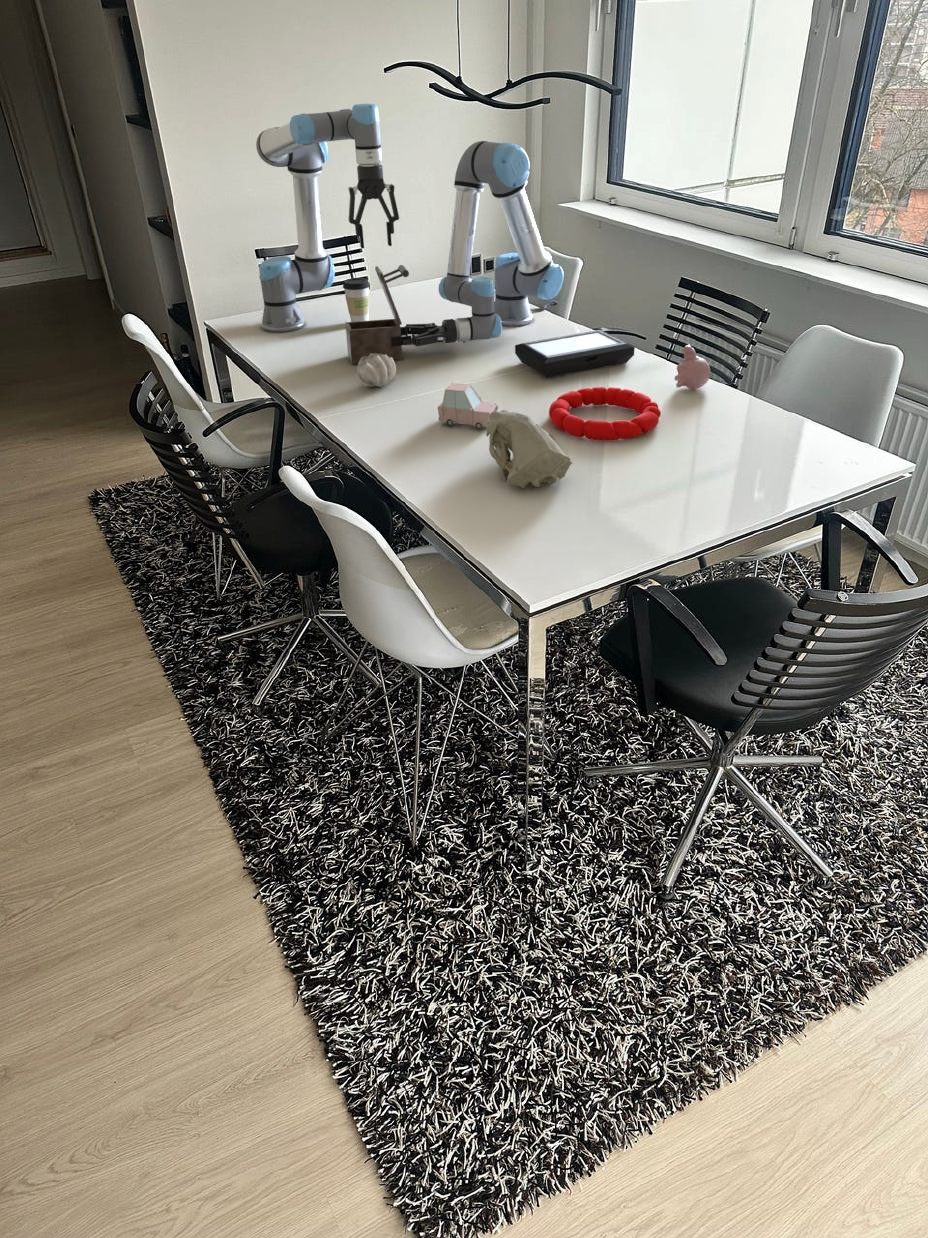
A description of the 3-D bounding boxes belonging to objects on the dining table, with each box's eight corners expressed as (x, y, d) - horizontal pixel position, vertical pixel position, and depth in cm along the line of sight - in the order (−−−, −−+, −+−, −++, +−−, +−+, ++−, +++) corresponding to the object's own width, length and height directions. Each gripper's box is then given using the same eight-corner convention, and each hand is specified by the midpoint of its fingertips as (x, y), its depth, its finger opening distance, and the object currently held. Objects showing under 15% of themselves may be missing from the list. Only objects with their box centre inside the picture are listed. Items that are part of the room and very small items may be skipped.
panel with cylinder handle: (379, 273, 276) (405, 262, 276) (374, 267, 283) (400, 255, 283) (399, 325, 286) (424, 314, 286) (393, 317, 293) (418, 306, 293)
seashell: (349, 385, 273) (346, 353, 267) (393, 376, 278) (391, 344, 273) (363, 395, 265) (359, 362, 260) (408, 385, 271) (405, 353, 265)
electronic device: (544, 360, 268) (515, 342, 283) (544, 380, 271) (514, 361, 286) (634, 344, 278) (601, 327, 293) (633, 363, 282) (600, 346, 297)
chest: (351, 363, 289) (349, 330, 283) (347, 354, 296) (345, 322, 290) (402, 359, 292) (400, 326, 286) (396, 351, 300) (395, 318, 294)
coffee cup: (372, 326, 323) (368, 283, 314) (345, 327, 323) (340, 284, 315) (374, 318, 331) (371, 276, 322) (348, 319, 331) (344, 277, 323)
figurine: (665, 387, 264) (669, 347, 257) (693, 380, 268) (698, 340, 261) (686, 396, 257) (690, 355, 250) (714, 388, 262) (720, 348, 255)
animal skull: (496, 517, 219) (521, 479, 201) (463, 429, 225) (484, 384, 207) (557, 503, 225) (586, 465, 206) (523, 417, 231) (549, 373, 212)
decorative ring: (589, 435, 224) (684, 402, 234) (527, 398, 247) (617, 369, 256) (589, 461, 229) (683, 427, 238) (529, 422, 251) (617, 393, 260)
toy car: (488, 432, 240) (488, 396, 234) (436, 426, 244) (434, 390, 239) (499, 419, 247) (499, 384, 241) (448, 413, 252) (447, 379, 246)
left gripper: (336, 168, 258) (344, 251, 270) (406, 163, 261) (411, 245, 274) (332, 164, 264) (341, 246, 276) (401, 160, 267) (406, 240, 280)
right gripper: (463, 351, 289) (395, 359, 285) (448, 332, 307) (384, 338, 303) (462, 328, 285) (394, 335, 281) (447, 310, 303) (382, 316, 298)
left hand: (376, 246), depth 275 cm, fingers open, 8 cm apart
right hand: (388, 337), depth 292 cm, fingers closed on chest, 9 cm apart
